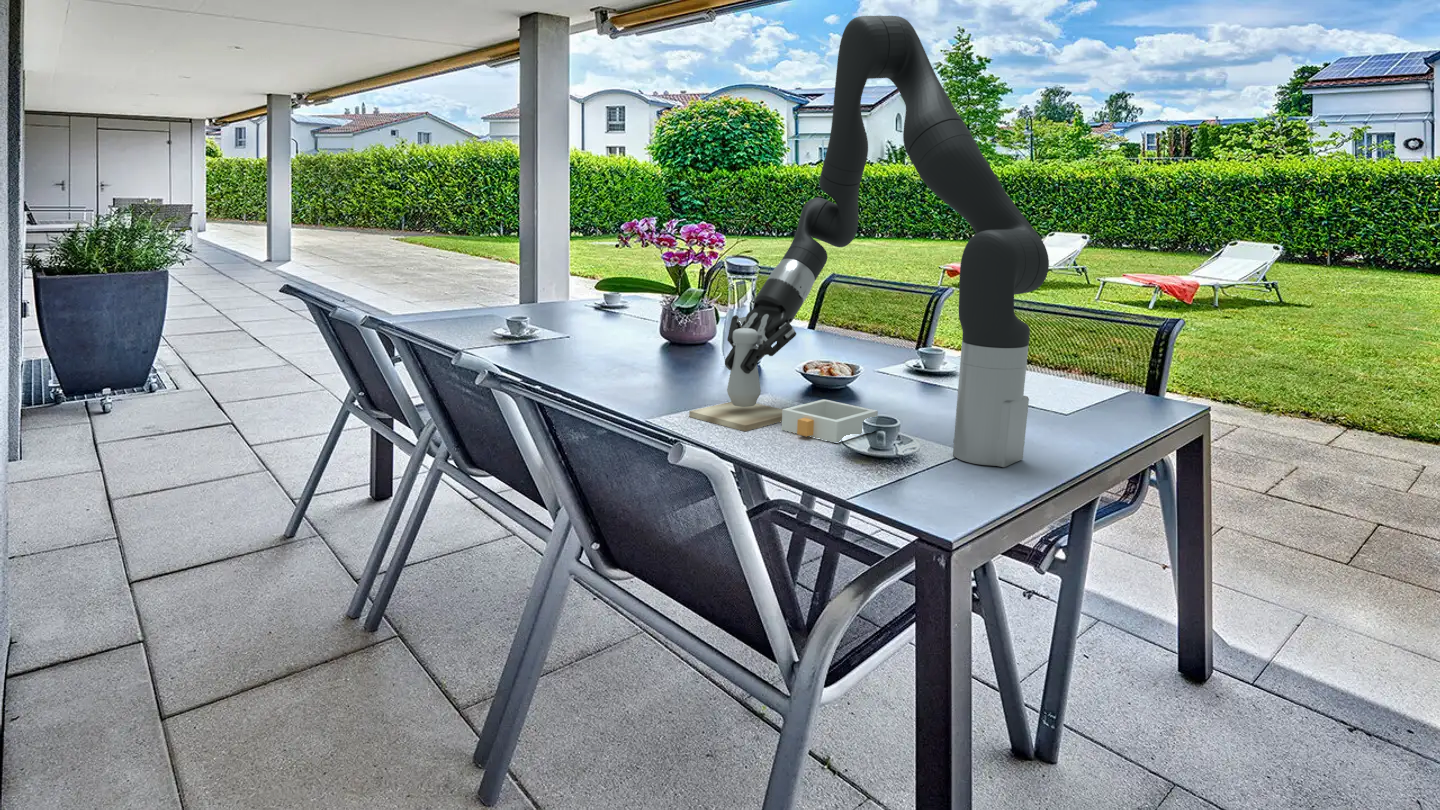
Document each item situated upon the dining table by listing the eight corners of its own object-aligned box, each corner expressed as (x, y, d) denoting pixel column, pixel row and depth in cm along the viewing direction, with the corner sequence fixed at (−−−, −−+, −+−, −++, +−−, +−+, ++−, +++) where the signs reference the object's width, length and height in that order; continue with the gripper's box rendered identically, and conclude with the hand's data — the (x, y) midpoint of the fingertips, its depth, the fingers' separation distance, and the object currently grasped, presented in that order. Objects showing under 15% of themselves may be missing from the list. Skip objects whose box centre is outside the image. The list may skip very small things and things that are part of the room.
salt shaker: (730, 408, 150) (731, 331, 146) (723, 400, 155) (724, 326, 152) (764, 407, 151) (766, 331, 148) (756, 399, 156) (757, 326, 153)
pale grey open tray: (876, 431, 146) (877, 410, 145) (829, 445, 137) (830, 423, 136) (822, 419, 153) (823, 399, 152) (775, 431, 144) (775, 410, 143)
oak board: (796, 418, 153) (796, 412, 153) (745, 431, 144) (745, 425, 144) (740, 404, 162) (740, 399, 162) (689, 416, 153) (689, 411, 153)
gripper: (745, 273, 158) (695, 350, 152) (807, 280, 148) (757, 361, 143) (764, 301, 163) (717, 376, 157) (826, 309, 153) (777, 389, 148)
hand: (736, 368), depth 150 cm, fingers closed on salt shaker, 3 cm apart
